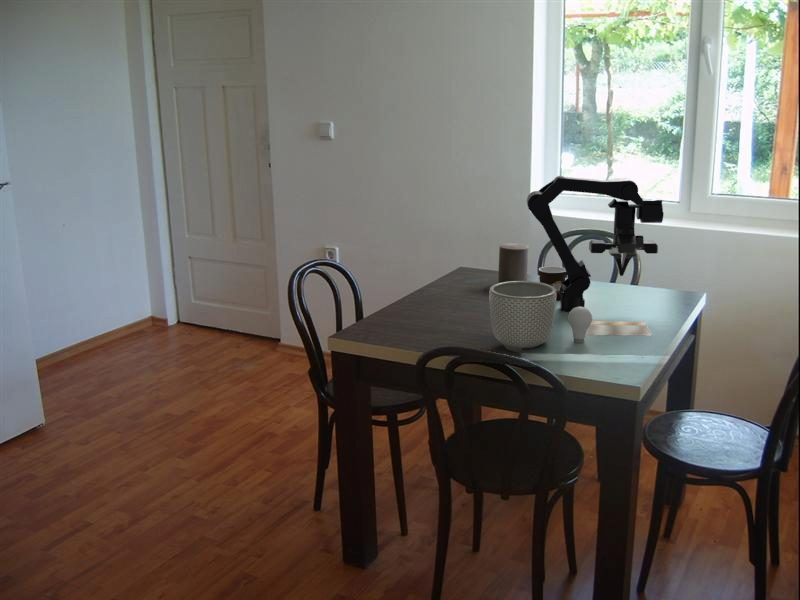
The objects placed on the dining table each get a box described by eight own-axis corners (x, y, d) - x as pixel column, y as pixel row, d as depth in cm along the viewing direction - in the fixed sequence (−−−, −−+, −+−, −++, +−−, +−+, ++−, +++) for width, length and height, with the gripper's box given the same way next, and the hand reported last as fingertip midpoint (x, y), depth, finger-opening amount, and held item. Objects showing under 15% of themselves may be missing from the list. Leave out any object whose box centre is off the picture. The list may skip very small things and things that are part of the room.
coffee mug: (537, 303, 256) (538, 272, 254) (537, 296, 265) (538, 266, 262) (575, 304, 254) (576, 273, 252) (574, 297, 263) (576, 267, 260)
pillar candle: (499, 289, 274) (500, 245, 269) (497, 281, 283) (498, 239, 279) (528, 289, 273) (530, 245, 269) (525, 282, 283) (527, 239, 278)
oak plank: (572, 329, 231) (572, 324, 230) (569, 319, 240) (569, 315, 239) (645, 330, 229) (645, 325, 229) (639, 320, 238) (639, 316, 237)
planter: (485, 356, 210) (486, 296, 206) (490, 335, 226) (491, 279, 222) (554, 360, 207) (556, 298, 203) (554, 338, 223) (556, 281, 219)
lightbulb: (569, 342, 220) (570, 302, 217) (592, 344, 218) (594, 304, 215) (564, 349, 215) (566, 309, 212) (588, 352, 212) (590, 311, 209)
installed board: (576, 339, 222) (576, 334, 222) (572, 329, 231) (572, 324, 230) (652, 341, 220) (652, 335, 220) (645, 330, 229) (646, 325, 228)
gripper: (594, 228, 229) (592, 282, 233) (663, 228, 227) (659, 282, 232) (589, 220, 240) (587, 272, 244) (655, 221, 238) (651, 273, 242)
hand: (621, 275), depth 240 cm, fingers closed
